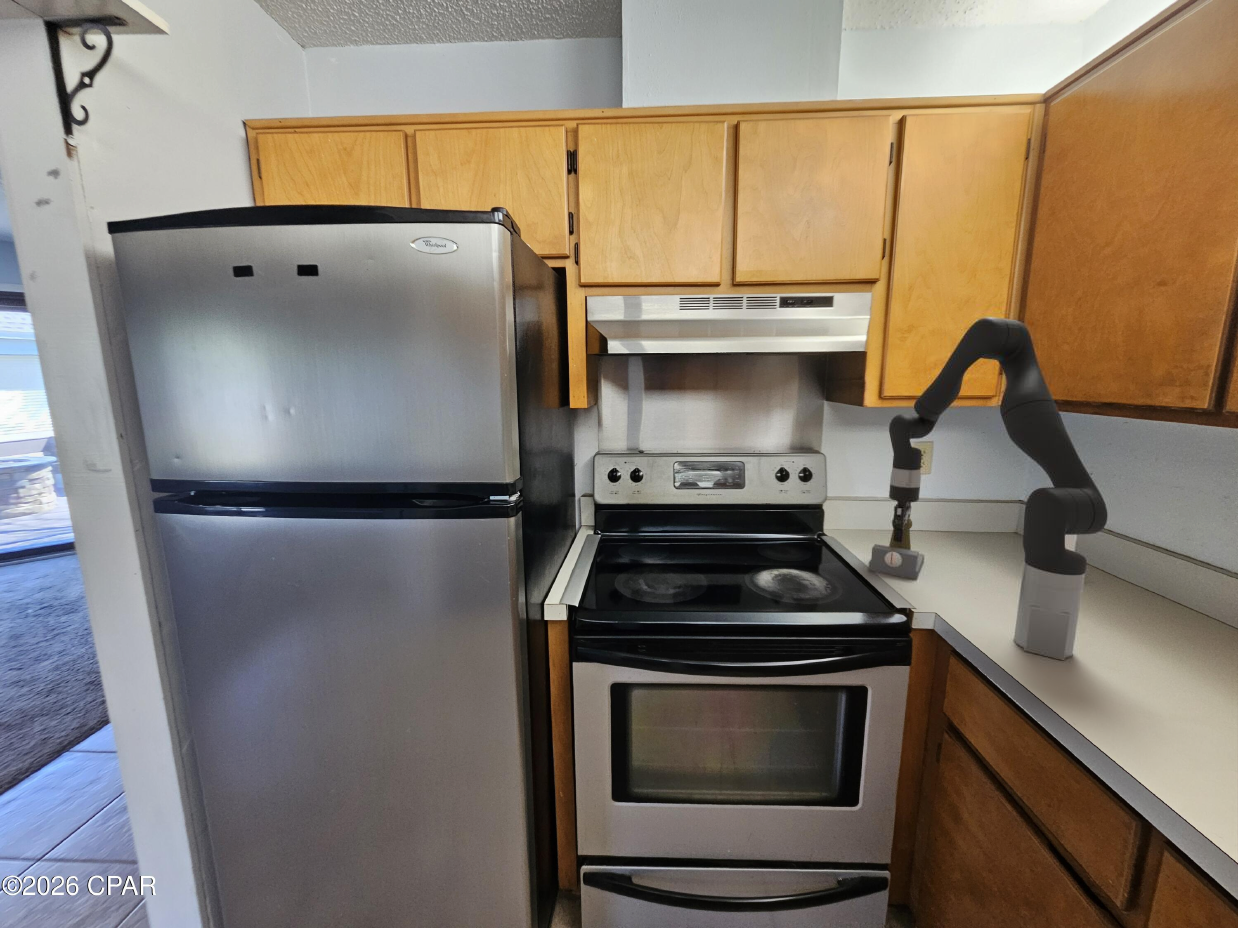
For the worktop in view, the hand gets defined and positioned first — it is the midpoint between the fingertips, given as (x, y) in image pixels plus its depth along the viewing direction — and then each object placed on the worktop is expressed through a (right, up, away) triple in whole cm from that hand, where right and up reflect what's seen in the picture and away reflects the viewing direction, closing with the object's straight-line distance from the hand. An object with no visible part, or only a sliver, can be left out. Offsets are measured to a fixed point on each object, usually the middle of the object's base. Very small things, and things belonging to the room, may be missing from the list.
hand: (900, 537), depth 146 cm
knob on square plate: (-1, -8, 0) cm, 8 cm away
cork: (0, -5, +1) cm, 5 cm away
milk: (+41, -9, -3) cm, 42 cm away
